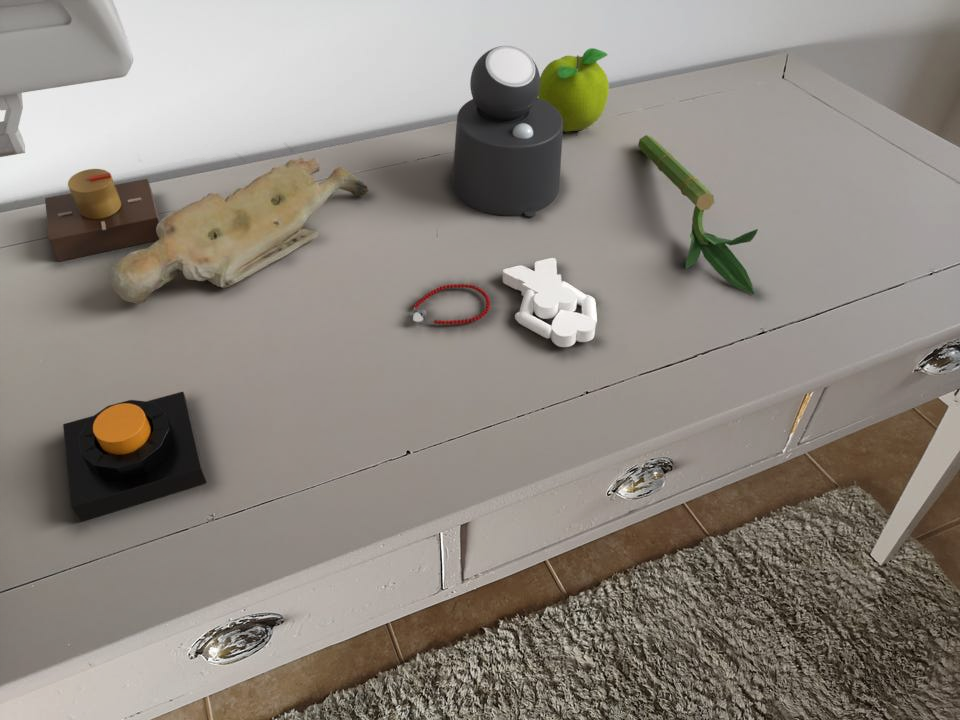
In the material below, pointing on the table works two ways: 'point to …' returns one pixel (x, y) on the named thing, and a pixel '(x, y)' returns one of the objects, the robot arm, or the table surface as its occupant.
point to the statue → (232, 231)
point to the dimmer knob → (94, 193)
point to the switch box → (133, 461)
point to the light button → (122, 429)
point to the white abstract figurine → (552, 304)
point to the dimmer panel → (102, 223)
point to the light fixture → (507, 138)
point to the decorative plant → (700, 218)
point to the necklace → (420, 314)
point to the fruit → (576, 88)
